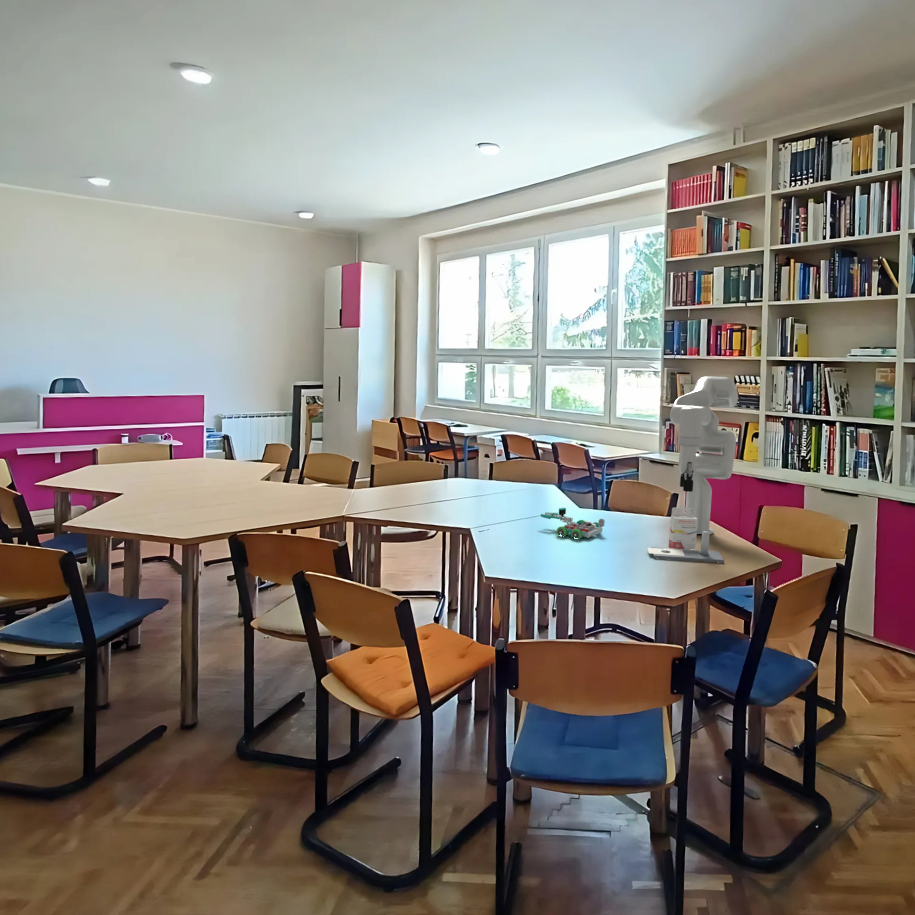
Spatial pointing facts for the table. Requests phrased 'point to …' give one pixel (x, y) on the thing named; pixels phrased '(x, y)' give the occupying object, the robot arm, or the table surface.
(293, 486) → the table surface
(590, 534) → the robot kit
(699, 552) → the plate
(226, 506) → the table surface
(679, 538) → the ink cartridge box
